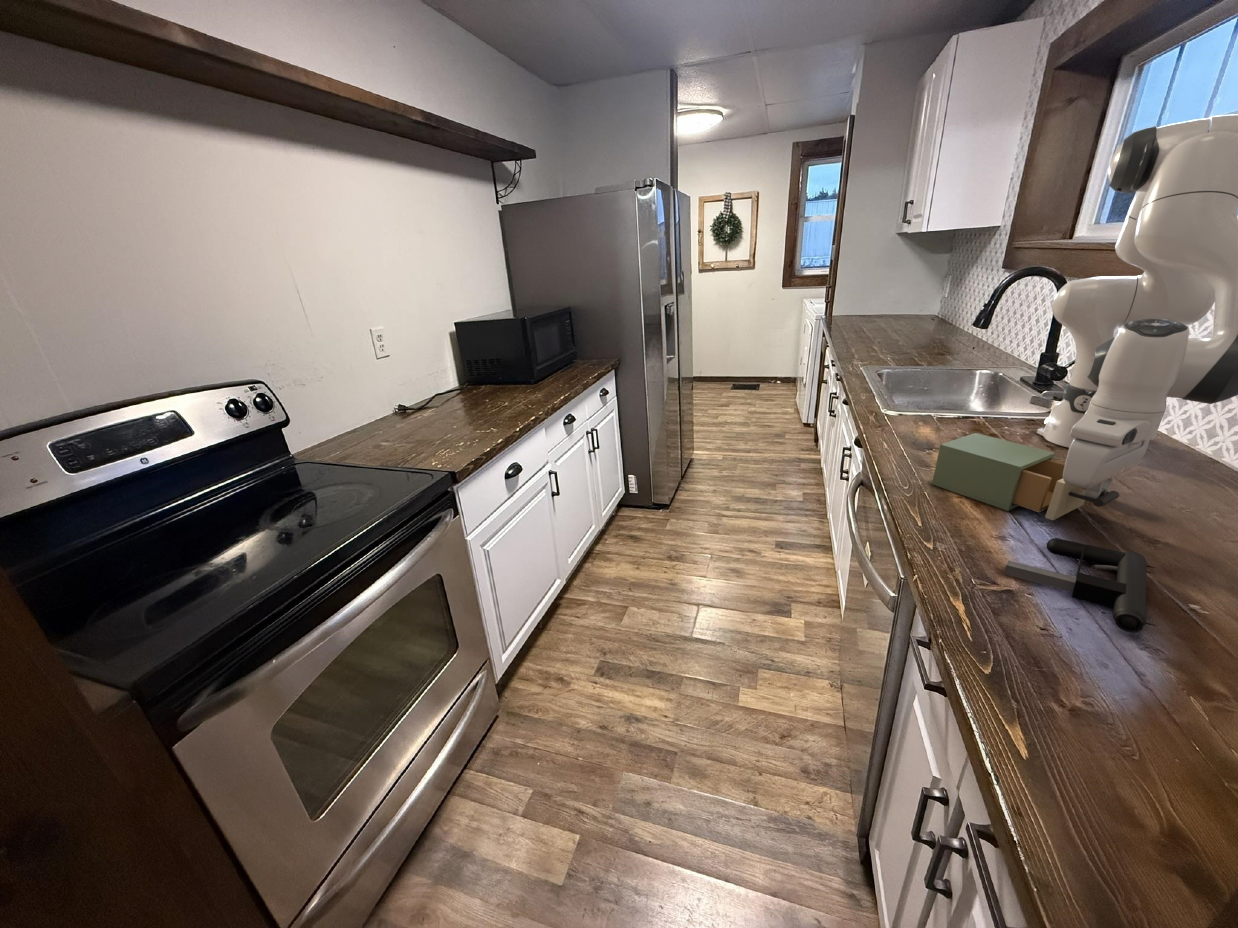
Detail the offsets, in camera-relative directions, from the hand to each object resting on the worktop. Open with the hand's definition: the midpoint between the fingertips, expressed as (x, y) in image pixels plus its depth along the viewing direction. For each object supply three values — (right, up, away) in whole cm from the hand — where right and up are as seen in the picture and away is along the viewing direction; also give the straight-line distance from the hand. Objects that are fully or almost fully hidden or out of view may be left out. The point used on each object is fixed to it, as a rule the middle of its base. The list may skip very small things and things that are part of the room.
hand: (1093, 497), depth 87 cm
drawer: (-3, -2, +7) cm, 8 cm away
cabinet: (-7, +1, +16) cm, 17 cm away
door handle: (-16, -12, -13) cm, 24 cm away
